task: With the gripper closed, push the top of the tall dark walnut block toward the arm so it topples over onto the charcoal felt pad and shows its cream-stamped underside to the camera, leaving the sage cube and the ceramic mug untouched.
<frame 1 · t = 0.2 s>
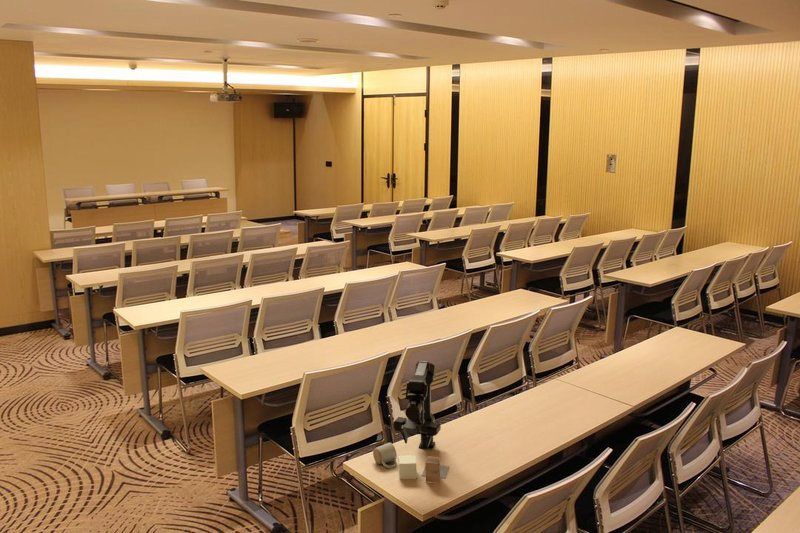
hand: (416, 445, 279), 14 cm above the table, fingers open, 9 cm apart
felt pad: (435, 471, 286), on the table
walnut block: (432, 479, 280), on the table, touching felt pad
ceramic mug: (386, 463, 294), on the table
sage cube: (407, 474, 284), on the table
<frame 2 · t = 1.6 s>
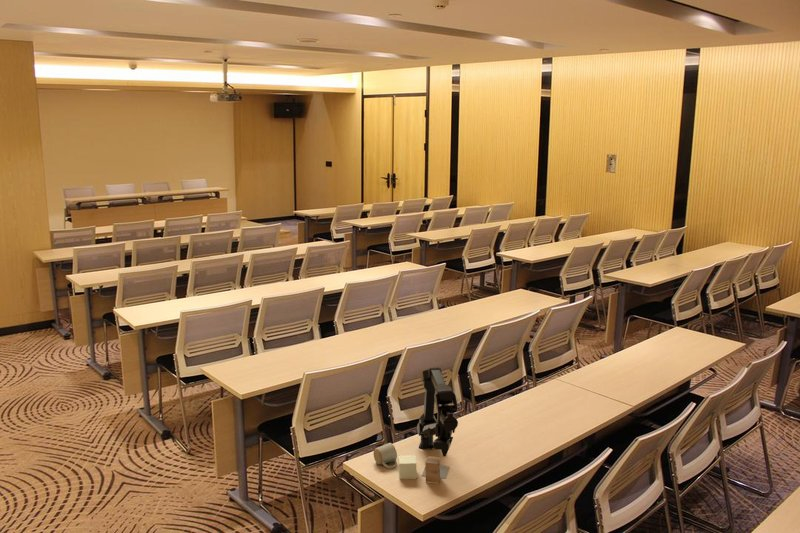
hand: (444, 456, 274), 12 cm above the table, fingers closed
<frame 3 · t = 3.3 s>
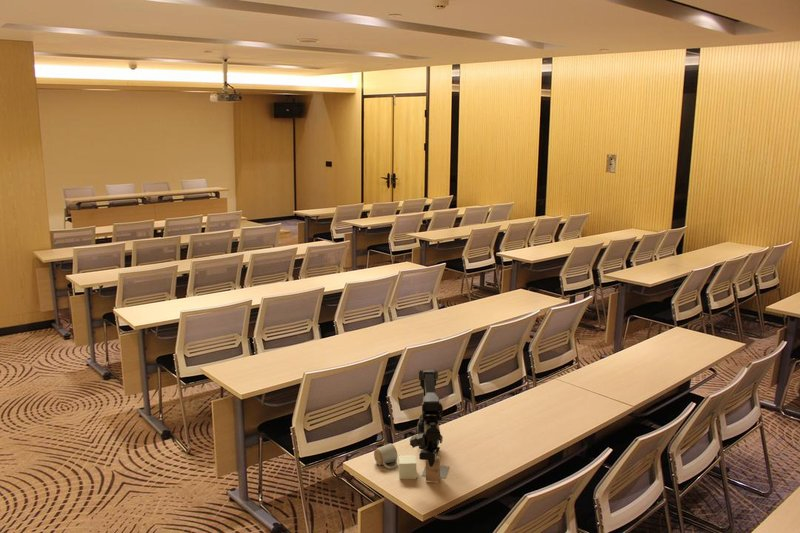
hand: (431, 466, 275), 8 cm above the table, fingers closed
walnut block: (432, 479, 280), on the table, touching felt pad, gripper
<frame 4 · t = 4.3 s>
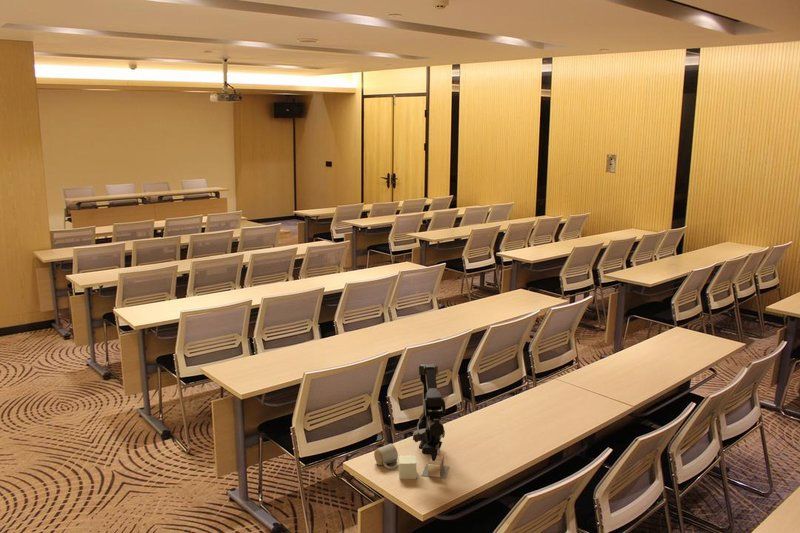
hand: (433, 460, 281), 7 cm above the table, fingers closed
walnut block: (433, 470, 282), point 3 cm above the table, tilted 90°, touching felt pad
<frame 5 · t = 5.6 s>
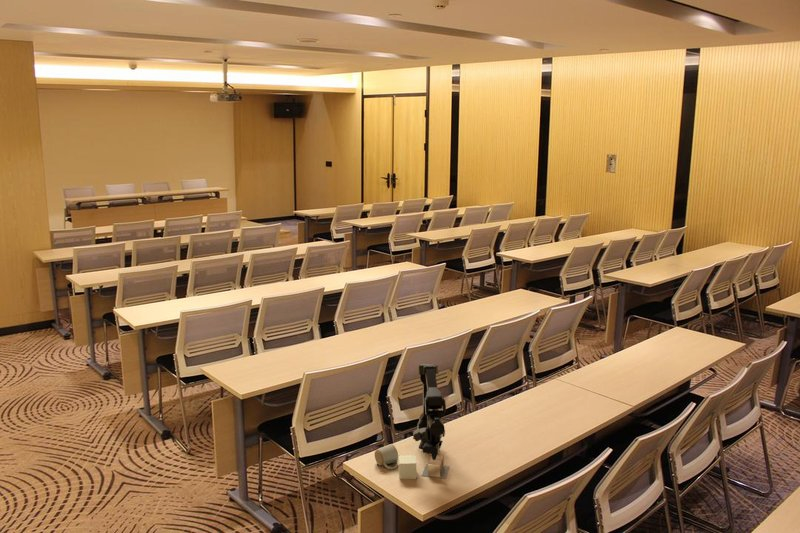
hand: (434, 459, 281), 8 cm above the table, fingers closed
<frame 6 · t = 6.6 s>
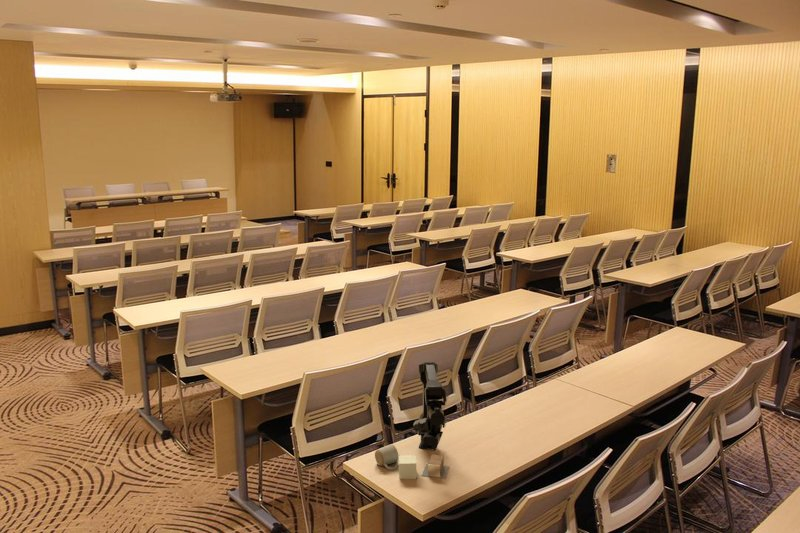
hand: (434, 450, 279), 12 cm above the table, fingers closed
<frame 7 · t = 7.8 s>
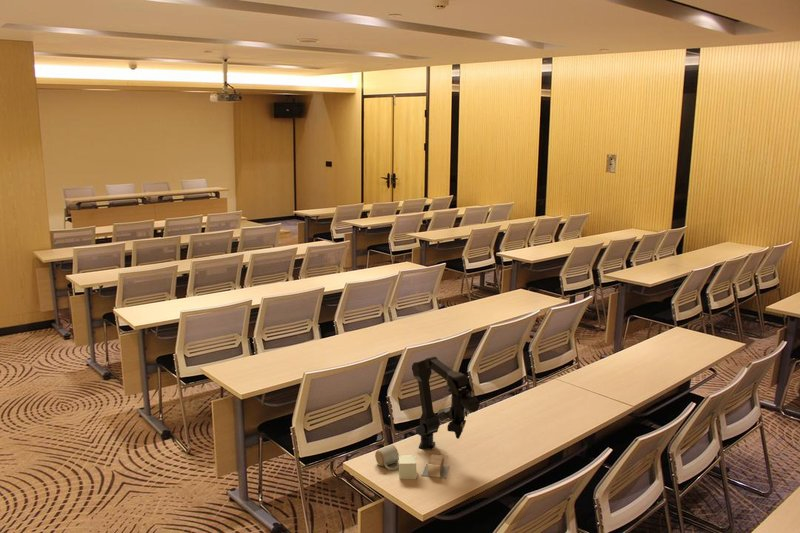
hand: (457, 438, 290), 12 cm above the table, fingers closed
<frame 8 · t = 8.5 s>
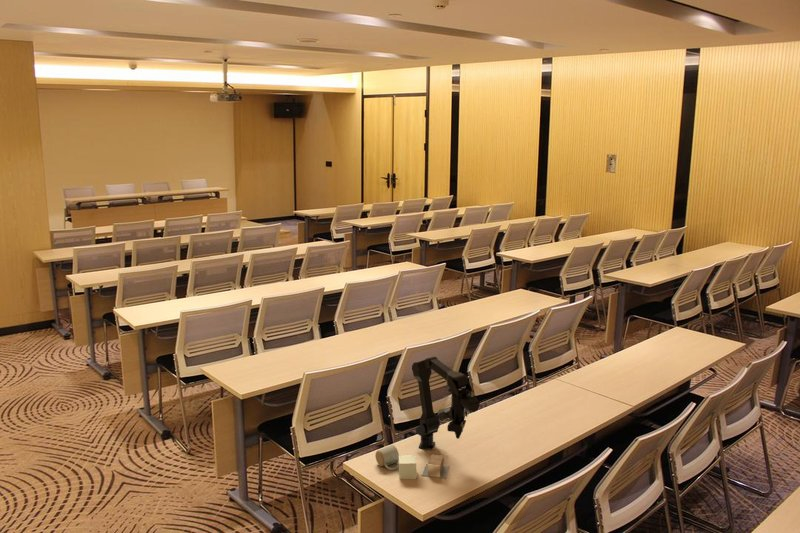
hand: (457, 438, 290), 12 cm above the table, fingers closed
at the end: walnut block tilted 90°; walnut block inside the target area (1.5 cm from its centre), point 2.7 cm above the table; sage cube moved 0.1 cm from its start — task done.
